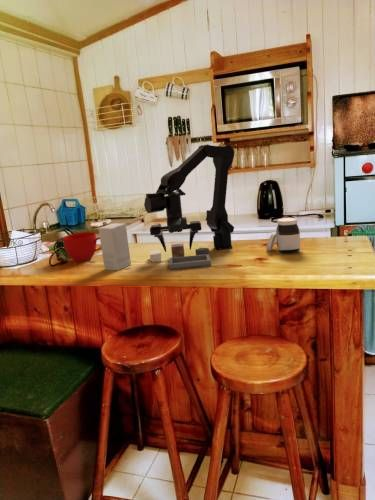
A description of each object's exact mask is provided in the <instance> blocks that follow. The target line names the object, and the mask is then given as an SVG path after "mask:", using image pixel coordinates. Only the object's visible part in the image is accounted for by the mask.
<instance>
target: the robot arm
mask: <svg viewBox="0 0 375 500" xmlns="http://www.w3.org/2000/svg"><path fill="white" fill-rule="evenodd" d="M206 158H212V163H213V165H214V169H215V174H214V183H213V184H214V185H213V195H212V197H213V198H212V206H211V208H210V210H209V209H208V210H206V212H205V213H206V216H205V217H206V218H205V221H206V225H207V227H208V228H209V229H210V230H211V233H213V234H214V235H213V236H212V237H213V238H212V242H213V247H214V248H215V250H225V249H226V250H227V249H233V245H232V233H234V229H235V227H234V225H233V224H232V223H231V222H229V215H228V211H227V210H226V201H227V200H226V199H227V189H228V179H229V178H228V177H229V170H230V168H231V166H232V165H233V163H234V158H235V149H234V148H233V147H232V146H231V145H229V144H226V145H211V144H209V143H208V144H203V145H199V146H198V147H197V149H196V150H195V151H193V152H192V154H191V155H189V156H188V157H187V158H186V159H185V160H184V161H183V162H182V163H181V164H180V165H178V167H176V168H174V169H173V170H170V171H169V172H167V173H165V174H163V175H162V177H161V179H160V184H159V186H158V188H157V190H156V192H155V193H145V199H144V203H143V205H144V209H145V212H146V213H147V214H152V213H157V212H159V213H160V212H164V211H165V213H166V226H165V225H164V226H162V224H153V225H151V226H150V228H149V232H150V234H149V235H151V236H153V237H154V238H157V239H158V241H159V242H160V244H161V246H162V248H163V250H164V252H165V253H166V252H167V245H166V242H165V237H164V233H165V232H168V233H170V234H172V233H181V232H183V231H184V230H189V240H188V241H189V243H188V244H189V245H188V246H189V250H192V247H193V246H192V245H193V241H194V238H195V236H196V234H198V233H199V231H202V222H201V221H200V220H194V221H193V220H192V221H191V220H190V221H189V223H188V222H187V221H188V220H187V216H184V217H183V209H182V208H183V207H182V201H181V197H182V196H186V192H184V191H183V190H182V189H181V187H182V186H183V185H184V184H185V181H186V178H187V177H188V176H189V175H190V174H191V173H192V172H193V171H194V170H195V169H196V168H197V167H198V166H199V165H200V164H201V163H202V162H203V161H204V160H205V159H206ZM163 232H164V233H163Z"/></svg>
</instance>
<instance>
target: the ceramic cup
mask: <svg viewBox="0 0 375 500" xmlns="http://www.w3.org/2000/svg"><path fill="white" fill-rule="evenodd" d="M98 240H100V236H98V237H97V234H96V232H88V231H87V232H79V233H78V232H77V233H73V234H69V235H66V236H63V237H62V243H63V247H64V249H65V252H66V254H67V256H69V258H71V260H73V261H74V263H80V262H81V263H82V262H88V261H90V260H92V258H93V256H94V255H95V253H96V252H98V251H100V250H102V248H101V246H100V247H98V248H97V241H98Z"/></svg>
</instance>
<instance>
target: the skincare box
mask: <svg viewBox="0 0 375 500" xmlns="http://www.w3.org/2000/svg"><path fill="white" fill-rule="evenodd" d="M98 234H99V237H100V239H99V241H100V247H101V248H102V249H101V254H102V259H103V267H104V270H105V271H106V270H107V271H115V270H118V271H120V270H122V269H125V268H127V267H129V266H130V264H131V265H132V260H131V254H130V246H129V237H128V231H127V223H125V222H122V223H121V222H120V223H119V222H117V223H115V222H114V223H110V224H107V225H104V226H101V227H98Z"/></svg>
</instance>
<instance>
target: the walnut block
mask: <svg viewBox="0 0 375 500" xmlns="http://www.w3.org/2000/svg"><path fill="white" fill-rule="evenodd" d="M184 247H185V246H184V243H174V244H171V245H170V248H171V256H172V257H171V258H174V257H184V256H185V248H184Z"/></svg>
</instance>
